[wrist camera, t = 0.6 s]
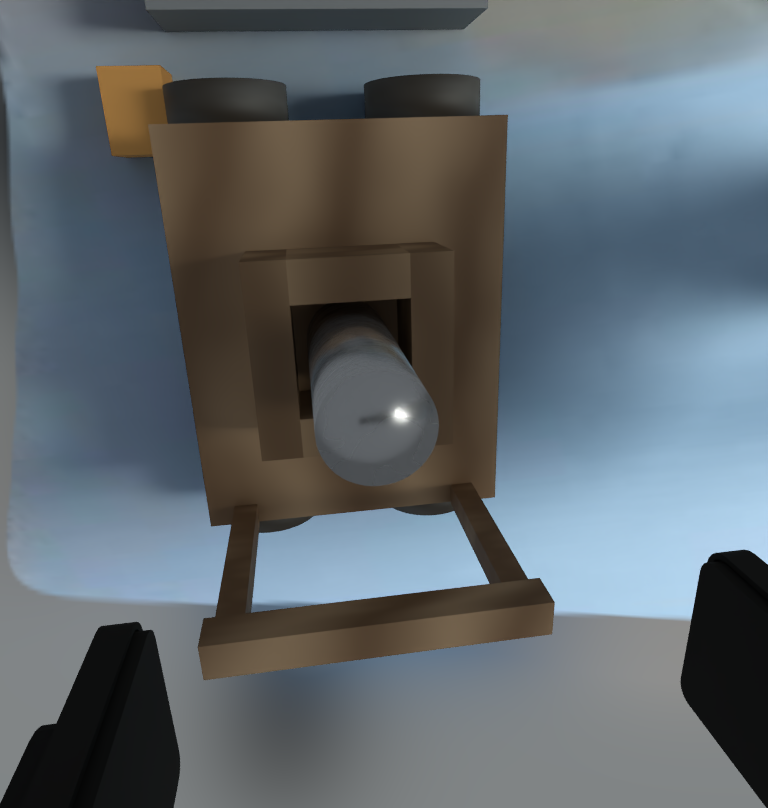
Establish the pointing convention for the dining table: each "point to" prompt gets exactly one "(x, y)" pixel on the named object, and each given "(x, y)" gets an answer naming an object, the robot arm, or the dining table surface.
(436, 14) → the tray
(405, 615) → the trolley
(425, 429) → the pin
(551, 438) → the dining table surface
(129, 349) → the dining table surface
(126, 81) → the orange block
